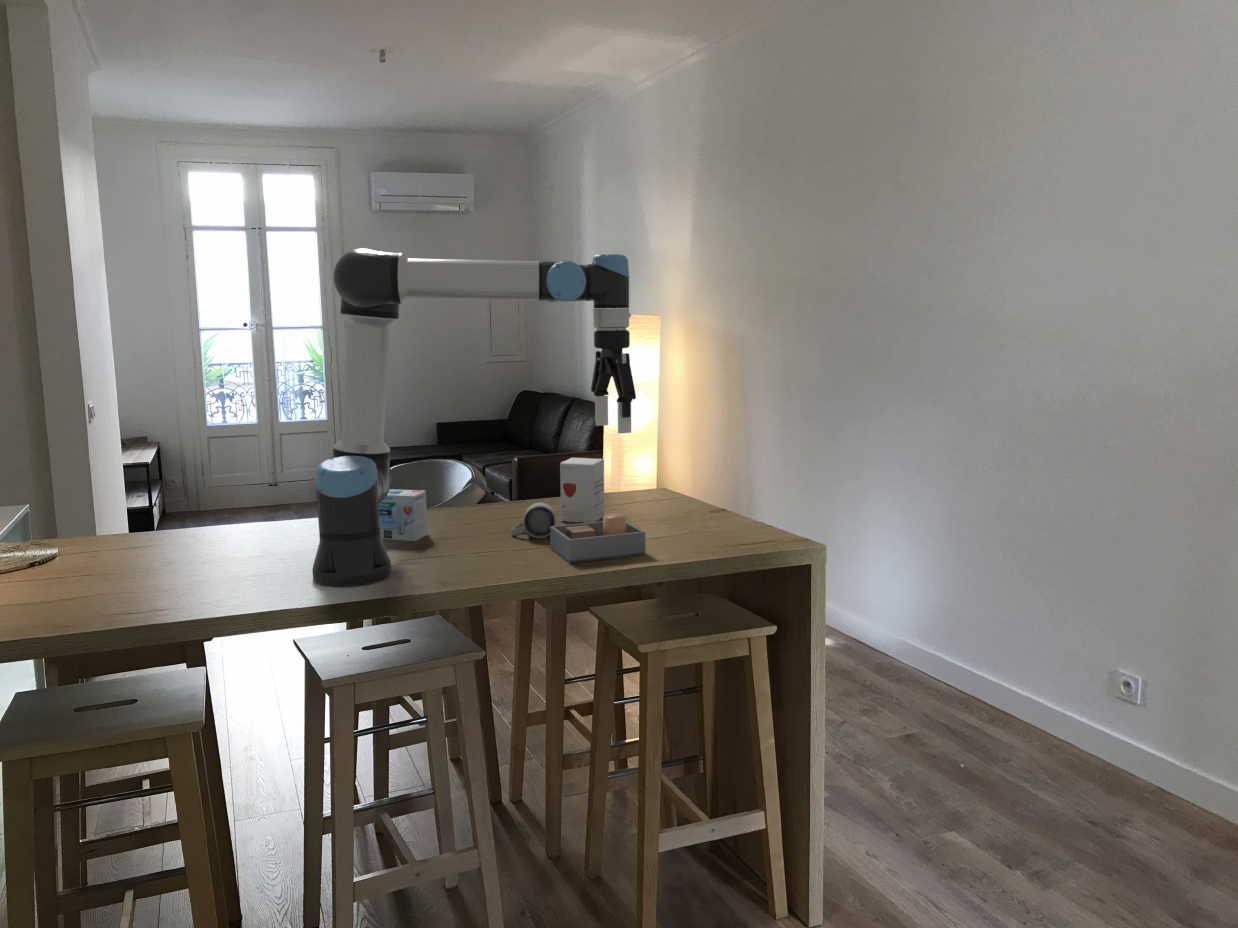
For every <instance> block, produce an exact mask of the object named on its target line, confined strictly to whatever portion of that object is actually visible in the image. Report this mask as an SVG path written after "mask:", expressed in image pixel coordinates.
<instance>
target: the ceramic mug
mask: <svg viewBox="0 0 1238 928" xmlns="http://www.w3.org/2000/svg"><path fill="white" fill-rule="evenodd" d="M556 518H557V517H556V513H555V510H554V508H553V507H552V506H551V505H550V504H548V503H545V502H535V503H532V504H530V506H529V507H528V508H527V509H526V511H525V513H524V515H523V519H522V521H521V522H520V523H518V524H516V525H515V526H513V527H512V528H511V529H510V533H511V535H512V536H513V537H515V536H516V537H517V536H519V535H521V534H524V533H526V534H527V535H529V537H531V538H535V539H544V538H547V537H549V536H550V526H557V519H556Z"/></svg>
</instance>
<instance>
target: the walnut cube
mask: <svg viewBox="0 0 1238 928" xmlns="http://www.w3.org/2000/svg"><path fill="white" fill-rule="evenodd" d="M565 535H566V536H567V537H568V538H570V539H578V538H587V537H595V530H594V529H592V528H590V527H589V526H587V525H585V526H575V527H565Z"/></svg>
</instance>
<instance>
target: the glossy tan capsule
mask: <svg viewBox="0 0 1238 928" xmlns="http://www.w3.org/2000/svg"><path fill="white" fill-rule="evenodd" d="M602 521H603V536H606V535H615V534H625V533H626V522H627V515H626V514H623V513H607V514H604V516H603V517H602Z"/></svg>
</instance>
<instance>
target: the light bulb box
mask: <svg viewBox="0 0 1238 928" xmlns="http://www.w3.org/2000/svg"><path fill="white" fill-rule="evenodd" d="M427 511H428V510H427V492H426V490H423V489H421V490H420V489H419V490H416V489H414V490H413V489H393V488H392V489H391V488H390V490H389V492H388V494H387V496H386V497H385V498H384V500H382V501H381V502H380V504H379V521H380V536H381V539H382V540H389V541H403V542H404V541H406V542H417V541H418V540H420V539H422V538H424V537H426V536H428V534H429V532H428V512H427Z"/></svg>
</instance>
